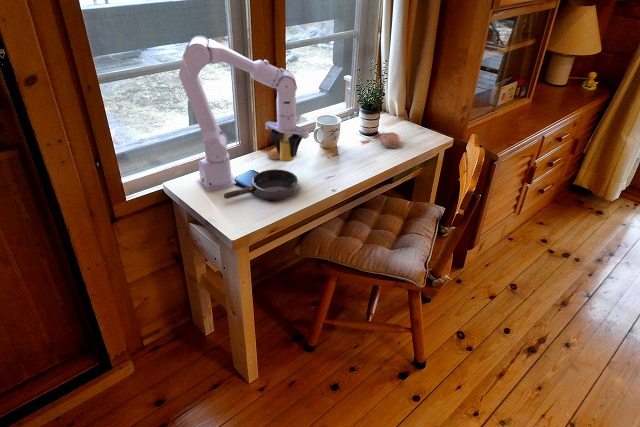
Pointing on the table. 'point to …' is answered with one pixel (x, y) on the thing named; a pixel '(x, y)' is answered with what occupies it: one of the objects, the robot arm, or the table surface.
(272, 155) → the pastry
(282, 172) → the skillet
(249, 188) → the skillet handle
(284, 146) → the yellow cylinder
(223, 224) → the table surface
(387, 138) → the pinkish-brown rounded lump
